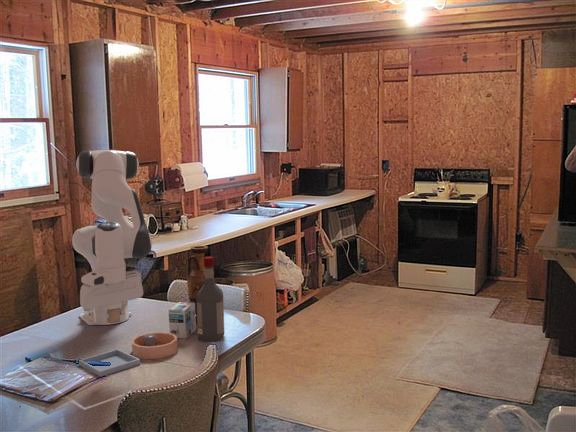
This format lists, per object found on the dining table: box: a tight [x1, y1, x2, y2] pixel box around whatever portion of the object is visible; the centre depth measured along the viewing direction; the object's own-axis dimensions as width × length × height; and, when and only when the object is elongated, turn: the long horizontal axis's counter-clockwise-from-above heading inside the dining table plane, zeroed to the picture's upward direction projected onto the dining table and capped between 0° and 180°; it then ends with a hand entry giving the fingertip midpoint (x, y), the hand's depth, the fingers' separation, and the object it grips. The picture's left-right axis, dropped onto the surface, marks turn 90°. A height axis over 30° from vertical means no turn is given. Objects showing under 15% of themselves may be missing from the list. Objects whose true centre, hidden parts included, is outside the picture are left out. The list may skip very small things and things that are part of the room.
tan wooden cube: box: [107, 307, 121, 324], centre depth 190 cm, size 4×4×4 cm
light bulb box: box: [168, 301, 197, 339], centre depth 224 cm, size 11×7×11 cm, turn 169°
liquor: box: [196, 255, 225, 343], centre depth 217 cm, size 9×9×30 cm
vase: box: [185, 245, 209, 325], centre depth 237 cm, size 11×11×30 cm
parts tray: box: [78, 348, 141, 378], centre depth 194 cm, size 14×14×2 cm
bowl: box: [131, 331, 178, 360], centre depth 206 cm, size 15×15×4 cm
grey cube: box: [144, 334, 156, 347], centre depth 208 cm, size 4×4×4 cm
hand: (113, 316), depth 190 cm, fingers closed on tan wooden cube, 4 cm apart
